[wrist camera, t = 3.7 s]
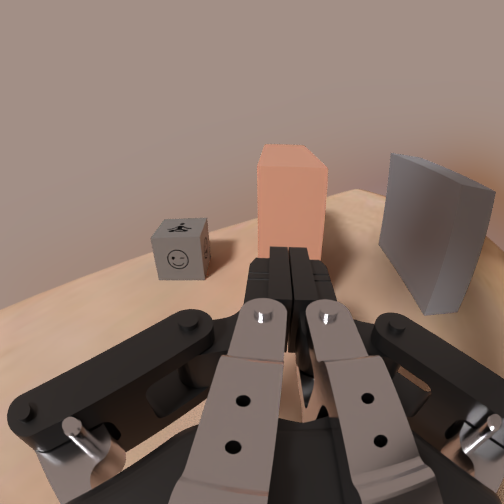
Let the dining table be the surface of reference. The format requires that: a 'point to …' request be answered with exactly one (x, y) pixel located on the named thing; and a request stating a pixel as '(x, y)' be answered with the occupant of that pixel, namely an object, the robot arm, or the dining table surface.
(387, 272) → the dining table surface
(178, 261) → the dice cube
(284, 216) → the terracotta slab
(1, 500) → the dining table surface
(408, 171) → the slate slab
